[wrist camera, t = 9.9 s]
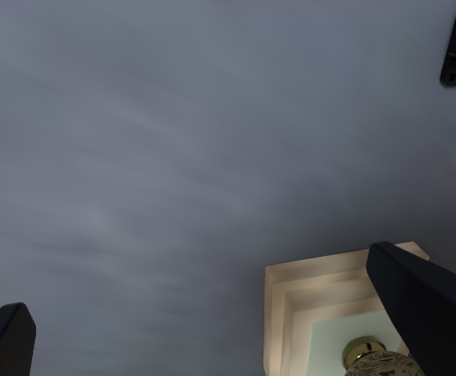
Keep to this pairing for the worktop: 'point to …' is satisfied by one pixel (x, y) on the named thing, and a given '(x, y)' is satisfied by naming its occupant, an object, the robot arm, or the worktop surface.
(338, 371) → the oak plinth
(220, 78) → the worktop surface
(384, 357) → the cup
